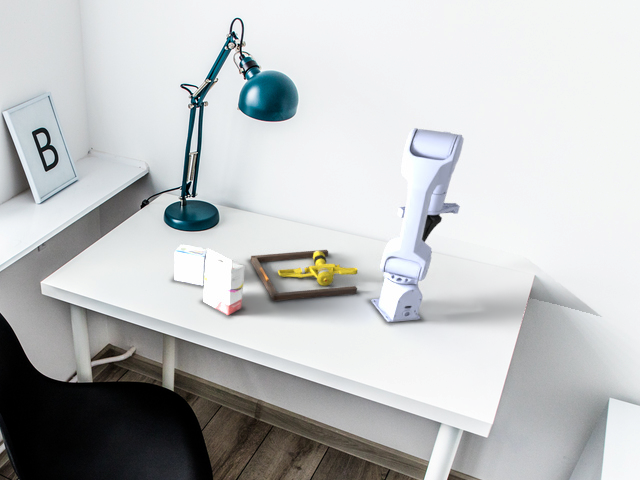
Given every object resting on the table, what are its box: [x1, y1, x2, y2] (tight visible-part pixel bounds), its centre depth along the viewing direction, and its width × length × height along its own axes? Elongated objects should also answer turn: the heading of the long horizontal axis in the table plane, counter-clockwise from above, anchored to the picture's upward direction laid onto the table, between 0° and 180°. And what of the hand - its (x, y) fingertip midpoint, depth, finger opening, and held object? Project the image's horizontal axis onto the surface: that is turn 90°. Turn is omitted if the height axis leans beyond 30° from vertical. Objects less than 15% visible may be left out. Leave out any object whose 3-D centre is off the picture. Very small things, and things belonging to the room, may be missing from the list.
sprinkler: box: [277, 249, 358, 287], centre depth 169 cm, size 19×4×15 cm
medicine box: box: [174, 243, 209, 287], centre depth 166 cm, size 8×4×9 cm, turn 65°
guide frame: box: [250, 249, 358, 302], centre depth 168 cm, size 20×21×2 cm
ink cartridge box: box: [203, 248, 245, 316], centre depth 154 cm, size 9×5×15 cm, turn 40°
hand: (420, 240), depth 163 cm, fingers closed
